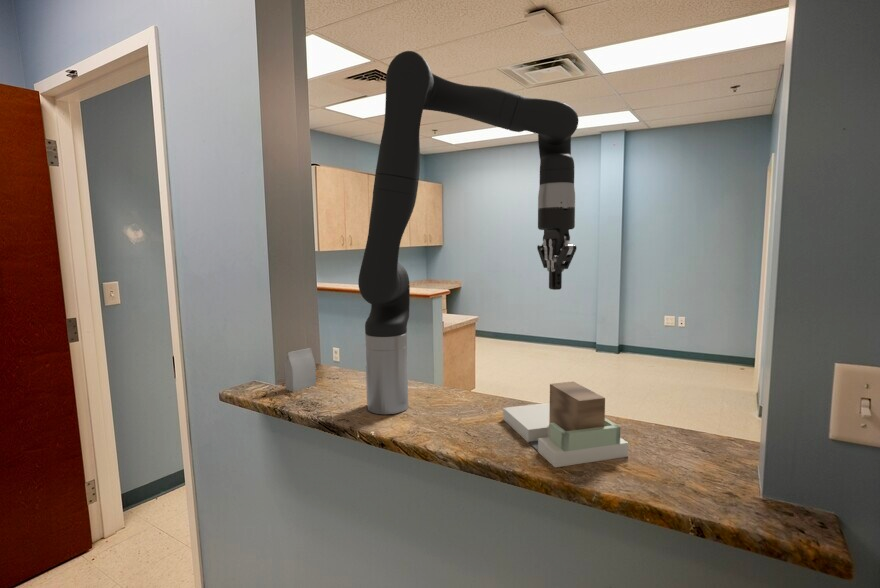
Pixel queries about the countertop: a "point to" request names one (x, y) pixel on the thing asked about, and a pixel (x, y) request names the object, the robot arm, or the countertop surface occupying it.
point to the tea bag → (300, 370)
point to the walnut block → (575, 407)
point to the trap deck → (565, 437)
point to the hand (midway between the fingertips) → (555, 289)
